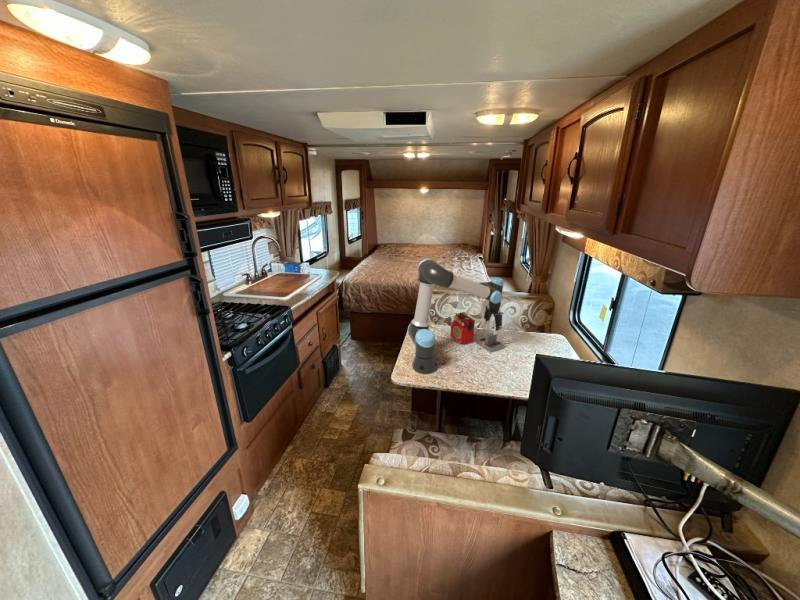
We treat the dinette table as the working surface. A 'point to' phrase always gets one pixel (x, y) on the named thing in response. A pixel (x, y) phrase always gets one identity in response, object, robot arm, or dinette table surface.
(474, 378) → the dinette table surface
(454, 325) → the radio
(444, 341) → the dinette table surface
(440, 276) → the robot arm
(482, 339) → the rack
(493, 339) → the panel
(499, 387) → the dinette table surface
